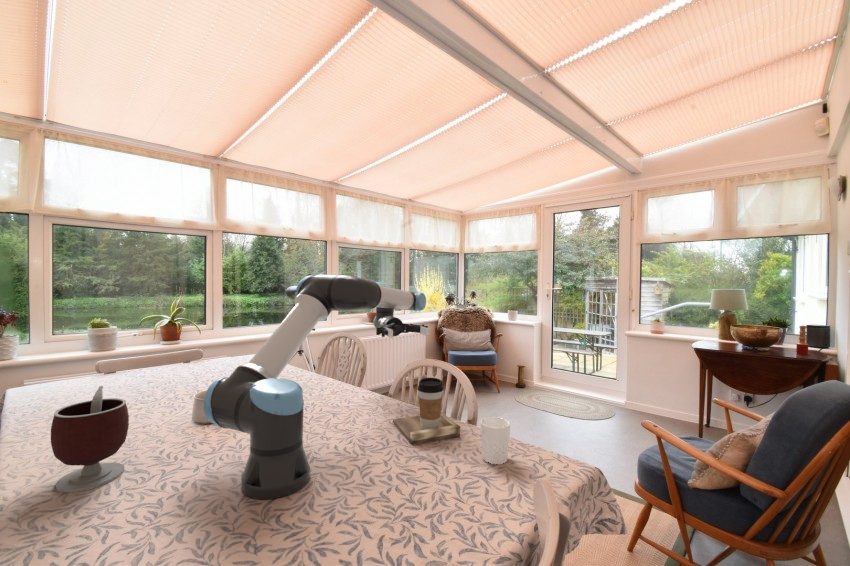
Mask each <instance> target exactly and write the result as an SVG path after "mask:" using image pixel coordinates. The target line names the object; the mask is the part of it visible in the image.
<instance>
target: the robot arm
mask: <svg viewBox="0 0 850 566" xmlns="http://www.w3.org/2000/svg"><path fill="white" fill-rule="evenodd" d="M295 290H296V292H295V294H294V295H295V298H294V304H295V306H294V307H293V308H292V309H291V310H290V311H289V312H288V314H287V315H286V316H285V318H284V319H283V320H282V321H281V323H280V324H279V325H278V326H277V327H276V329H275V330H274V331H273V332H272V333H271V335H270V336H269V337H268V339H267V340H266V341H265V342H264V343H263V345H262V346H261V347H260V348H259V349H258V350H257V351H256V353H255V354H254V356H252V358H251V359H250V360H249V361H248V363H247V364H242V365H238V366H236V368H235V369H234V370H233V372H232V373H231V375H230V376H229V377H227V376H224V377H221V378H218V379H216V380H215V381H213V382H212V383H211V384H210V385H209V386H208V388H207V390H206V391H205V394H204V396H203V399H202V404H203V407H202V410H203V415H204V416H205V418H206V419H207V421H208V422H210V423H211V424H213V425H216V426H218V427H220V428H224V429H230V430H234V431H236V432H237V431H238V432H242V433H244V434H245V433H246V434H250V437H249V438H250V439H249V440H250V441H249V446H250V447H249V455H248V457H247V461H246V464H245V468H244V470H243V473H242V475H241V491H242V493H243V494H244V495H245V496H247V497H249V498H251V499H254V500H271V499H272V500H273V499H278V498H283V497H285V496H289V495H291V494H294V493H295V492H297V491H299V490H300V489H302V488H303V487H305V486H306V485H307V484H308V482H309V480H310V478H311V466H310V463H309V460H308V457H307V454H306V451H305V448H304V445H303V441H304V440H303V437H304V435H303V432H304V405H305V401H304V400H305V399H304V393H303V392H304V391H303V388H302V386H301V385H300V384H299V383H298V382H296V381H294V380H291V379H287V378H281V377H280V378H279V376H280V375H281V373H282V372H283V371H284V369H285V368H286V366H287V365H288V363H290V361H291V360H292V358H293V357H294V356H295V354H296V353H297V351H298V350H299V349H300V348H301V346H302V344H303V343H304V342H305V341H306V339H307V337H309V335H310V334H311V333H312V331H313V329H314V328H315V326H317V324H318V323H319V322H323V321H326V319H327V318H328V317H329V315H330V314H331V313H332V312H333V311H336V312H337V311H339V312H345V311H346V312H347V311H350V312H351V311H359V310H374V309H375V308H376V309H375V311H376V312H375V317H374V318H373V326H374V328H375V330H376V331H375V332H376V336H379V335H381V338H385V337H388V338H389V339H393V338H394V337H397V336H399V335H401V334H403V333H404V334H408V333H415V334H420V335H423V336H426V337H429V336H430V328H429V325H425V324H422V325H421V324H414V323H403V322H402V320H401V319H400V318H399V317H395V316H394V313H395V312H394V311H395V310H401V311H416V312H417V311H424V309H426V306H427V297H426V295H425V293H424V292H420V291H419V292H418V291H407V290H403V289H397V288H394V287H393V286H382V285H379V284H378V282H376V281H374V280H373V281H371V280H370V279H365V278H361V277H357V276H353V275H349V274H341V275H340V274H320V273H317V274H311V275H307V276H305V277H303V278H302V279H301V280H300V281H299V282H298V284H297V285H296V289H295Z"/></svg>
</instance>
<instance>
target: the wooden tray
mask: <svg viewBox="0 0 850 566" xmlns="http://www.w3.org/2000/svg"><path fill="white" fill-rule="evenodd" d="M393 423H394V424H393ZM392 424H393V425H394V427H396V429H397V430H398V429H399V430H400V431H399V432H400V433H401V434H402V435H403V437H404V438H405V437H406V438H405V439H406V440H407V441H408V442H409V443H410V444H412V445H411V446H414V444H416V445H420V443H421V444H426V442H427V443H431V442H436V441H437V442H439V441H442V440H443V439H444V440H448V439H455V438H460V437H461V425H459V424H458V423H456V422H455V421H454V420H453V419H451V418H450V416H448V415H446V414H445V413H443V412H442V411H441V414H440V424H439V428H433V429H427V430H423V429H421V423H420V415H414V416H407V417H406V416H405V417H401V418H392Z"/></svg>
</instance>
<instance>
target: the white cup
mask: <svg viewBox="0 0 850 566" xmlns="http://www.w3.org/2000/svg"><path fill="white" fill-rule="evenodd" d="M510 431H511V423H510V421H509V420H507V419H505V418H502V417H498V416H489V417H484V418H481V420H480V442H481V452H482V453H481V458H482V460H483V459H484V460H485V461H484V460H483V461H484V462H486V463H488V462H489V463H488V464H490V463H491V465H496V464H498V465H504V464H506V463H507V461H508V459H509V458H508V456H509V447H510V445H509V443H510V433H511V432H510ZM505 462H506V463H505ZM503 463H504V464H503Z"/></svg>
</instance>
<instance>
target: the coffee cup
mask: <svg viewBox="0 0 850 566" xmlns="http://www.w3.org/2000/svg"><path fill="white" fill-rule="evenodd" d="M416 390H417V391H418V398H417V399H418V406H419V408H418V409H419V416H420V423H421V429H423V430H427V429H433V428H439V424H440V414H441V412H442V405H443V391H444V386H443V381H442V380H441V379H440V378H437V377H423V378H421V379H420V380H419V382H418V386H417V389H416Z"/></svg>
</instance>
